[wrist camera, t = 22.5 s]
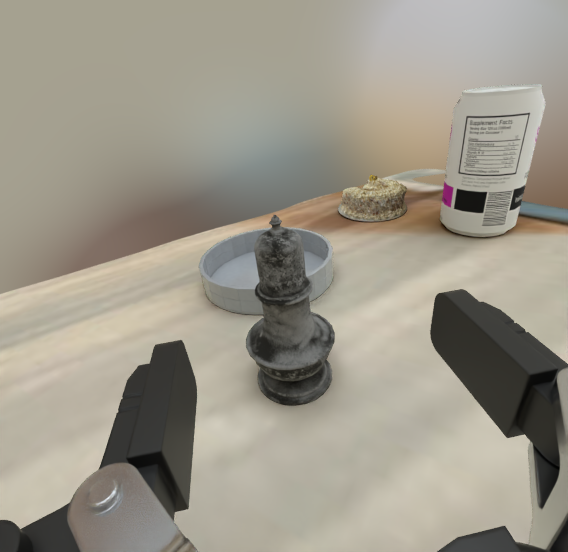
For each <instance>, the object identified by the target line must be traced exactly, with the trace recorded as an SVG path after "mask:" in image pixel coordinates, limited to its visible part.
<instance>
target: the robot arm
mask: <svg viewBox="0 0 568 552" xmlns="http://www.w3.org/2000/svg"><path fill="white" fill-rule="evenodd" d="M430 334H431V340H432V343H433V346H434V348H435V349H436V351H437V352H438V353H439V355H440V356H441V357H442V358H443V360H444V361H445V362H446V363H447V364H448V366H449V367H450V368H451V369H452V371H453V372H454V373H455V374H456V376H457V377H458V378H459V379H460V381H461V382H462V383H463V384H464V385H465V387H466V388H467V389H468V390H469V392H470V393H471V394H472V395H473V397H474V398H475V399H476V400H477V402H478V403H479V404H480V405H481V406H482V408H483V409H484V410H485V411H486V413H487V414H488V415H489V416H490V418H491V419H492V420H493V421H494V423H495V424H496V425H497V426H498V427H499V429H500V430H501V431H502V432H503V434H504V435H505V436H506V437H507V438H510V437H515V436H519V435H524V434H525V435H526V436H527V438H528V439H529V440H530V443H529V446H528V459H529V474H530V489H531V504H532V525H531V531H530V536H529V544H524V543H519V542H515V541H514V539H513V538H512V536H511V534H510V533H509V531H508V530H507V528H506V527H505V526H502V527H498V528H494V529H490V530H486V531H482V532H478V533H474V534H470V535H466V536H462V537H458V538H456V539H455V540H453V541H452V542H450V543H449V544H448V545H446V546H445V547H443V548H442V549H440V550H439V551H437V552H568V364H567V363H566V362H565V361H563V360H562V359H561V358H560V357H558V356H557V355H556V354H555V353H553V352H552V351H551V350H550V349H548V348H547V347H546V346H545V345H543V344H542V343H541V342H540V341H538V340H537V339H536V338H535V337H533V336H532V335H531V334H530V333H529V332H525V329H524V328H522V327H521V326H520V325H519V324H517V323H514V320H512V319H511V318H510V317H509V316H507V315H506V314H505V313H504V312H502V311H501V310H500V309H497V308H495V307H493V306H491V305H489V304H487V303H484V302H479V301H478V300H477V299H475V298H474V297H473V296H472V295H471V294H469V293H468V292H467V291H466V290H463V289H460V290H455V291H449V292H444V293H439V294H437V296H436V298H435V302H434V309H433V317H432V324H431V332H430ZM122 397H123V399H121V402H120V405H119V408H118V411H119V412H118V413H117V415H116V418H115V421H114V424H113V427H112V431H111V434H110V437H109V440H108V443H107V446H106V450H105V453H104V456H103V459H102V462H101V465H100V468H99V470H98V471H96V472H95V473H93V474H92V475H91V476H89V477H88V478H87V479H86V480H85V481H84V482H83V483H82V484H81V486H80V487H79V488H78V489H77V491H76V492H75V494H74V496H73V498H72V500H71V502H70V503H68V504H67V505H65V506H64V507H62V508H60V509H58V510H56V511H55V512H53V513H51V514H49V515H47V516H45V517H43V518H41V519H39V520H37V521H35V522H33V523H31V524H30V525H28V526H26V527H24V528H22V529H20V528H19V527H18V526H17V525H16V524H15V523H13V522H11V521H8V520H0V552H198V551H197V549H196V548H195V547H194V545H193V544H192V543H191V542H190V540H189V539H188V538H185V536H184V535H183V534H182V533H181V531H180V530H179V528H178V527H177V525H176V524H175V523H174V514H175V512H177V511H181V510H186V509H188V508H189V495H190V482H191V469H192V455H193V442H194V429H195V416H196V403H197V387H196V381H195V376H194V373H193V370H192V367H191V364H190V361H189V358H188V355H187V352H186V349H185V346H184V343H183V342H182V340H179V341H173V342H168V343H163V344H157V345H155V347H154V349H153V353H152V357H151V361H150V364H145V365H140V366H138V367H137V369H136V370H135V371H134V373H133V374H132V375H131V376H130V378H129V379H128V380H127V383H126V386H125V389H124V393H123V396H122Z"/></svg>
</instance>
